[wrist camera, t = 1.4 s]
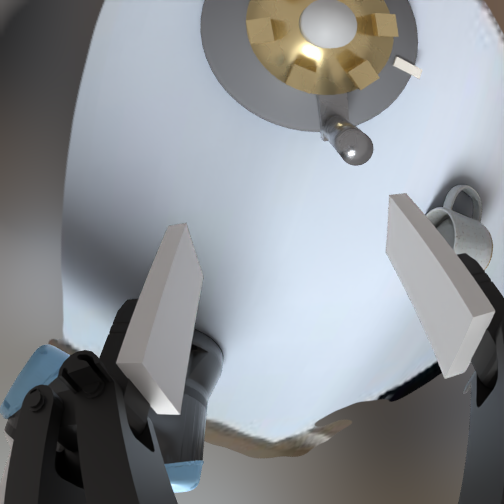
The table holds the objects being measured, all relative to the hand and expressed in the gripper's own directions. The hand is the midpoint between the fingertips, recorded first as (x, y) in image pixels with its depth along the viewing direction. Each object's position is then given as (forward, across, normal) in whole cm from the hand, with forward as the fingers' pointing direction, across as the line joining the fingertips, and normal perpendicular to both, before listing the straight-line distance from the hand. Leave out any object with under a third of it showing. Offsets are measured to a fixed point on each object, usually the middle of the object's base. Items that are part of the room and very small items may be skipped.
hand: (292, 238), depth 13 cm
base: (+20, -5, -9) cm, 23 cm away
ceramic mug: (+21, -21, +14) cm, 32 cm away
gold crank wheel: (+19, -5, -7) cm, 20 cm away
